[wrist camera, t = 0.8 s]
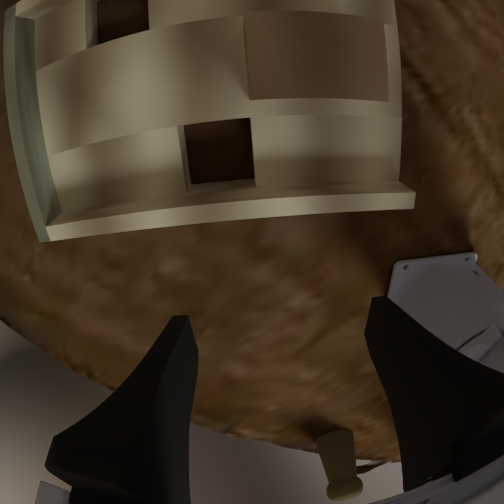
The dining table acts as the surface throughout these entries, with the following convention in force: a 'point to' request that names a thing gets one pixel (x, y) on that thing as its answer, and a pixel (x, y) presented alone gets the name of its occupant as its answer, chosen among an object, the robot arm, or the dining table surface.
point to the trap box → (183, 120)
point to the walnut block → (315, 55)
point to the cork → (339, 464)
